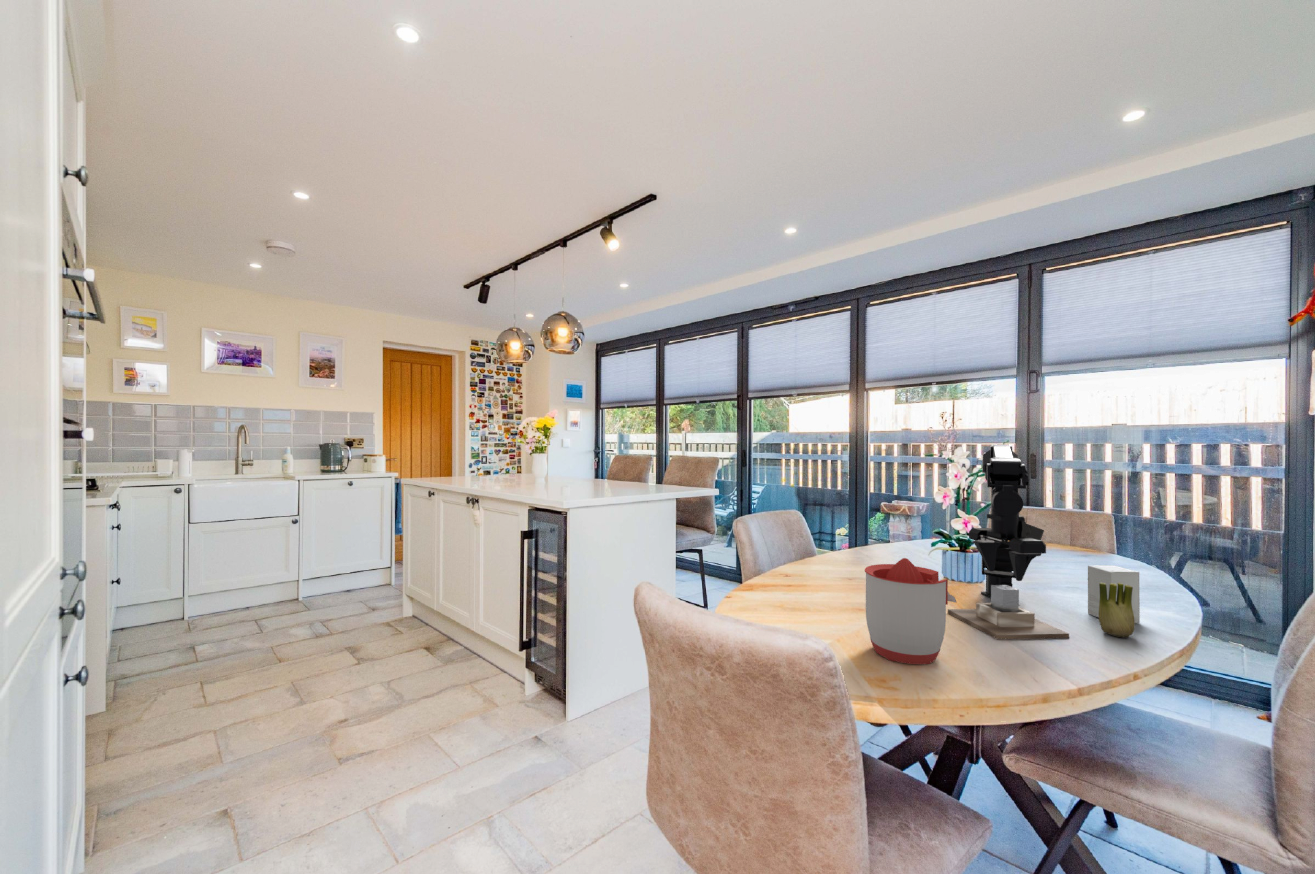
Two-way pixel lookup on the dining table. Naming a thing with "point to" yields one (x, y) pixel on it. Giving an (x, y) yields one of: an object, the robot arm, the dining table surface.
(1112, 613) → the fennel bulb
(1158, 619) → the dining table surface
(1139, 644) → the dining table surface
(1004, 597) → the metal peg
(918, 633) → the citrus juicer
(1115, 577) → the supplement box
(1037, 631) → the socket board
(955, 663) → the dining table surface
